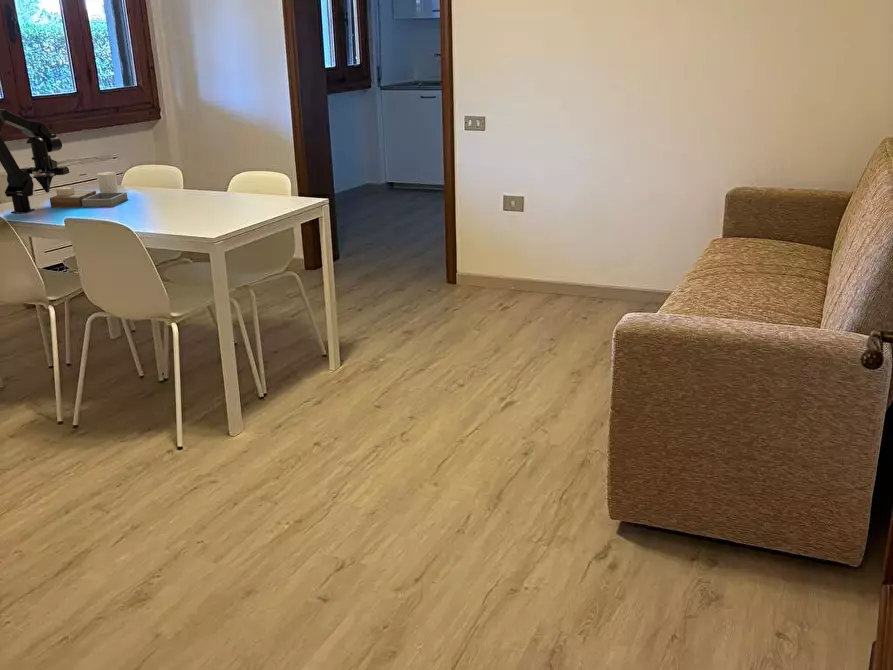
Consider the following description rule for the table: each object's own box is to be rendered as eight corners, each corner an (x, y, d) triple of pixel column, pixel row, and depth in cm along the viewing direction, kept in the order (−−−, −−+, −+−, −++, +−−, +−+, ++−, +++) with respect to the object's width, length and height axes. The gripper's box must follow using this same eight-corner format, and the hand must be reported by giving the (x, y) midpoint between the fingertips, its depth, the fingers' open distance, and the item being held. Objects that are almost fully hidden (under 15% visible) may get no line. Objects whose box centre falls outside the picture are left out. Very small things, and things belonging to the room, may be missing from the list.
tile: (69, 195, 338) (68, 189, 337) (57, 195, 338) (55, 189, 337) (74, 193, 343) (73, 187, 342) (62, 193, 343) (61, 187, 342)
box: (112, 206, 333) (111, 199, 332) (82, 207, 334) (81, 199, 333) (127, 199, 348) (126, 192, 347) (99, 200, 349) (98, 192, 348)
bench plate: (80, 207, 334) (78, 197, 332) (51, 207, 334) (49, 198, 333) (97, 200, 349) (95, 190, 347) (69, 200, 349) (67, 191, 348)
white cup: (119, 197, 354) (115, 173, 351) (100, 199, 351) (96, 175, 348) (119, 194, 361) (115, 171, 358) (100, 196, 358) (96, 172, 355)
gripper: (72, 150, 342) (78, 188, 347) (27, 151, 343) (35, 189, 348) (59, 154, 332) (66, 193, 337) (13, 155, 332) (21, 194, 338)
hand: (47, 192), depth 340 cm, fingers closed
